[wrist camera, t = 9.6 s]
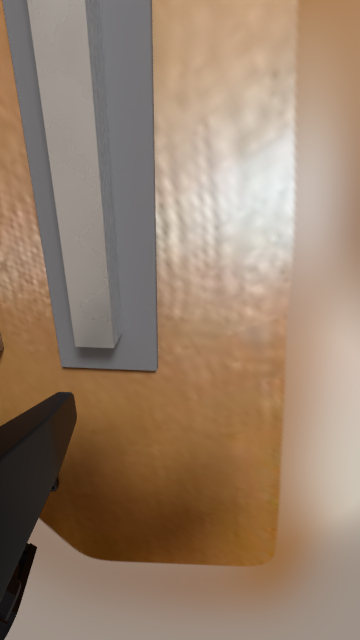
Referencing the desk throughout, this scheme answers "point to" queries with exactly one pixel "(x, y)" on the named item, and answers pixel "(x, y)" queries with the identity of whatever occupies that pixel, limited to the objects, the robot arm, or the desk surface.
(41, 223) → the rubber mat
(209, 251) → the desk surface
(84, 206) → the steel rail
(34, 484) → the robot arm
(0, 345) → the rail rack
